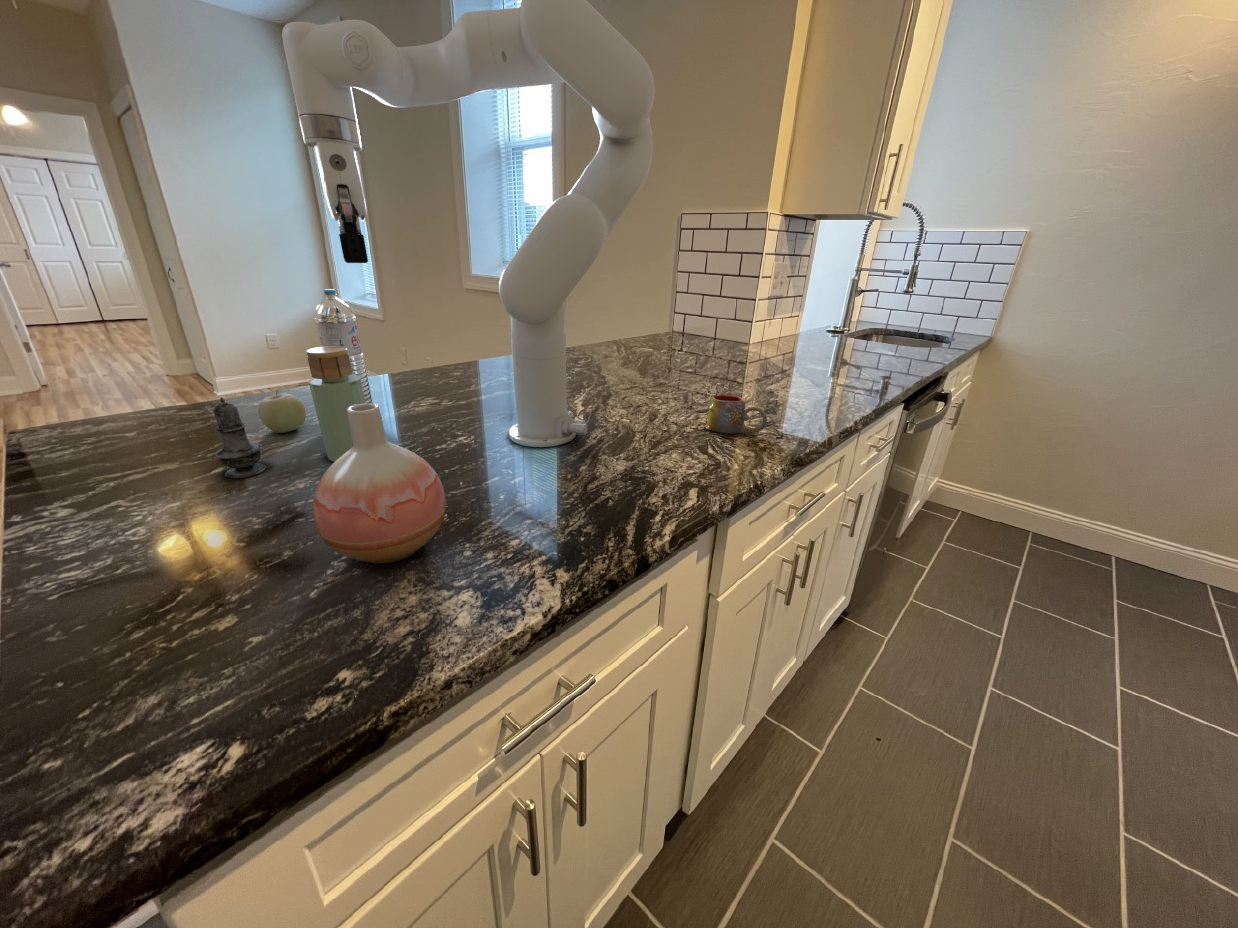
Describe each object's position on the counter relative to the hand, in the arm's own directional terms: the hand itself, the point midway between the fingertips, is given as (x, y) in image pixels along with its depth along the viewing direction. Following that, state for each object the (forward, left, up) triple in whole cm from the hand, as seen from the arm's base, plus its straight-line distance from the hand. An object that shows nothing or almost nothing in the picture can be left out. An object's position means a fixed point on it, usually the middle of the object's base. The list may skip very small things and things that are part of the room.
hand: (355, 261), depth 78 cm
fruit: (+20, +4, -31) cm, 37 cm away
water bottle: (+13, -6, -31) cm, 34 cm away
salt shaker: (+10, +20, -31) cm, 38 cm away
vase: (-26, +30, -31) cm, 50 cm away
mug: (-62, -25, -31) cm, 73 cm away
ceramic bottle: (0, +9, -30) cm, 32 cm away
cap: (0, +9, -16) cm, 19 cm away
